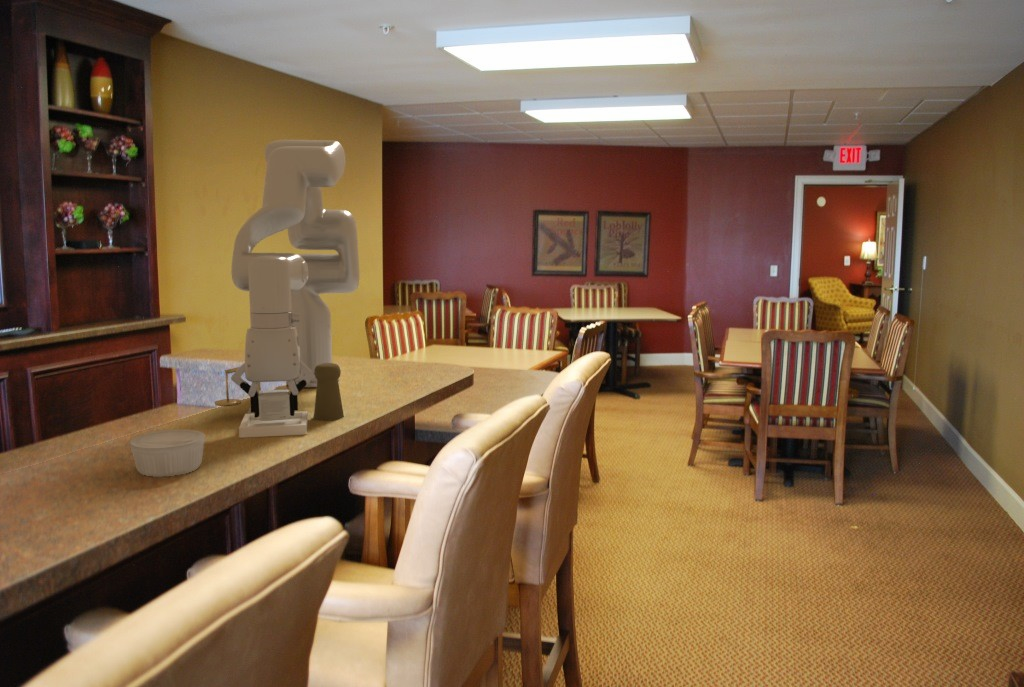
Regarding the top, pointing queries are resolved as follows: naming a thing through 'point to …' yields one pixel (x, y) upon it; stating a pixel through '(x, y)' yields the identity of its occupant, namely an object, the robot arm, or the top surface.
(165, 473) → the ramekin
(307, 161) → the robot arm
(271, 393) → the small box
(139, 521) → the top surface
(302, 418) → the dish
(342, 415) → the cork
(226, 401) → the balance
